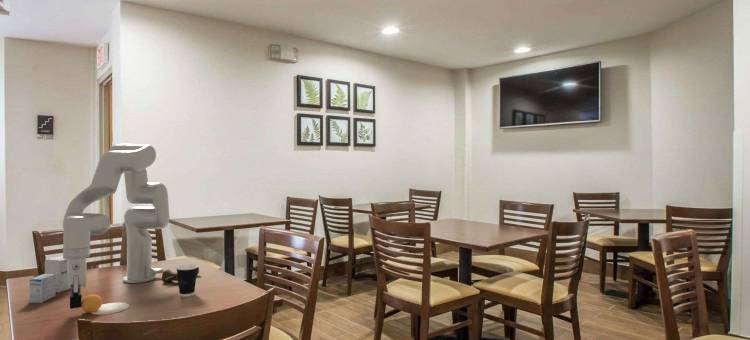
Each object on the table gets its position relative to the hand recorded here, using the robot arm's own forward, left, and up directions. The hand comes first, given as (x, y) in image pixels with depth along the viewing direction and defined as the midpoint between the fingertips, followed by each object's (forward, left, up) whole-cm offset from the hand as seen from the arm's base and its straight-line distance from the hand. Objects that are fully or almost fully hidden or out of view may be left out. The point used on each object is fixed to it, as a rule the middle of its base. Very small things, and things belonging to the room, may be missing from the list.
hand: (75, 307), depth 149 cm
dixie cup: (-36, -4, -3) cm, 36 cm away
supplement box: (+5, -37, -3) cm, 37 cm away
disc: (-10, -1, -2) cm, 10 cm away
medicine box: (+10, -25, -3) cm, 27 cm away
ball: (-5, 0, 0) cm, 5 cm away
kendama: (-38, -27, -3) cm, 46 cm away
